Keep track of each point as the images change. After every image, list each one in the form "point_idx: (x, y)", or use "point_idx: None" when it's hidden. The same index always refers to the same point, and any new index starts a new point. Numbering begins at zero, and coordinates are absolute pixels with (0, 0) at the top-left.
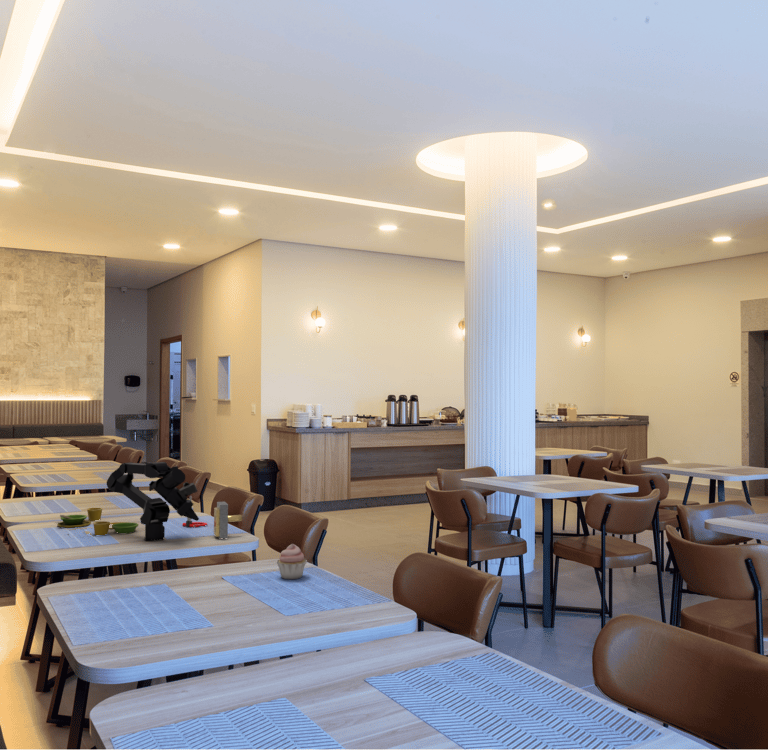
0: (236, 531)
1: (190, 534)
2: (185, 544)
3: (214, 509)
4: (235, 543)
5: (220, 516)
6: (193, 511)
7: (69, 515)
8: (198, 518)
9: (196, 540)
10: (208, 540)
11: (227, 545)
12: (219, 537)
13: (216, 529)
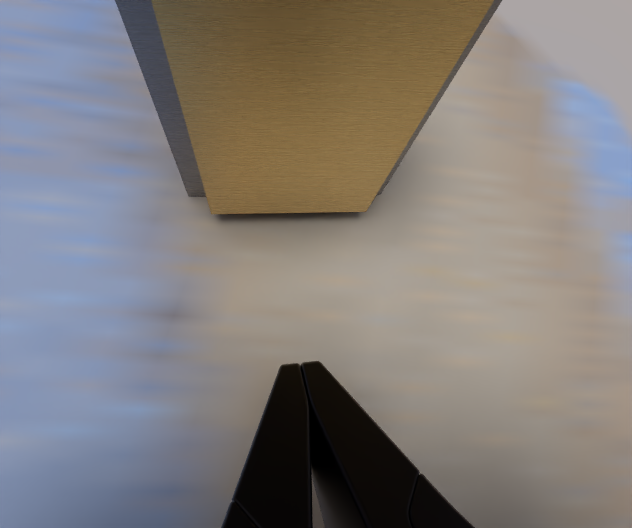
0: (44, 15)
1: (8, 456)
2: (544, 515)
3: (198, 8)
4: (546, 105)
5: (476, 33)
6: (452, 514)
7: None
8: (324, 371)
9: (372, 398)
10: (395, 287)
11: (610, 166)
12: (383, 186)
13: (382, 176)
